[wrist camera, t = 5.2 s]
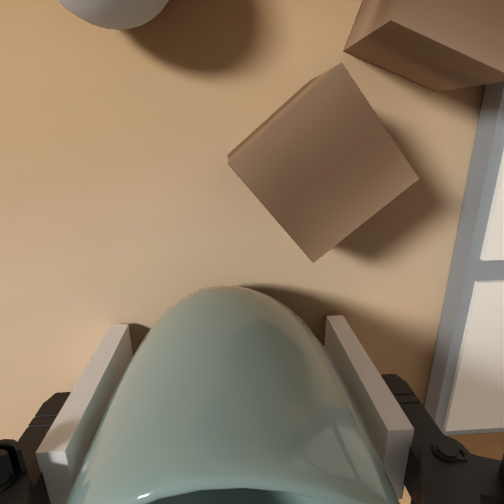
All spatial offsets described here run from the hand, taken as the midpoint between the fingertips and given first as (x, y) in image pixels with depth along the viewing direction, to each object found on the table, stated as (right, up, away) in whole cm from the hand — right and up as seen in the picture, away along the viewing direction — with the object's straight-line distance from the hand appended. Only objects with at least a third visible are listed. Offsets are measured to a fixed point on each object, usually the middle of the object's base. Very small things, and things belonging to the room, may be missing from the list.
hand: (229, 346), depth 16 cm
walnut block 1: (+3, +8, -2) cm, 9 cm away
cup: (0, 0, 0) cm, 1 cm away
